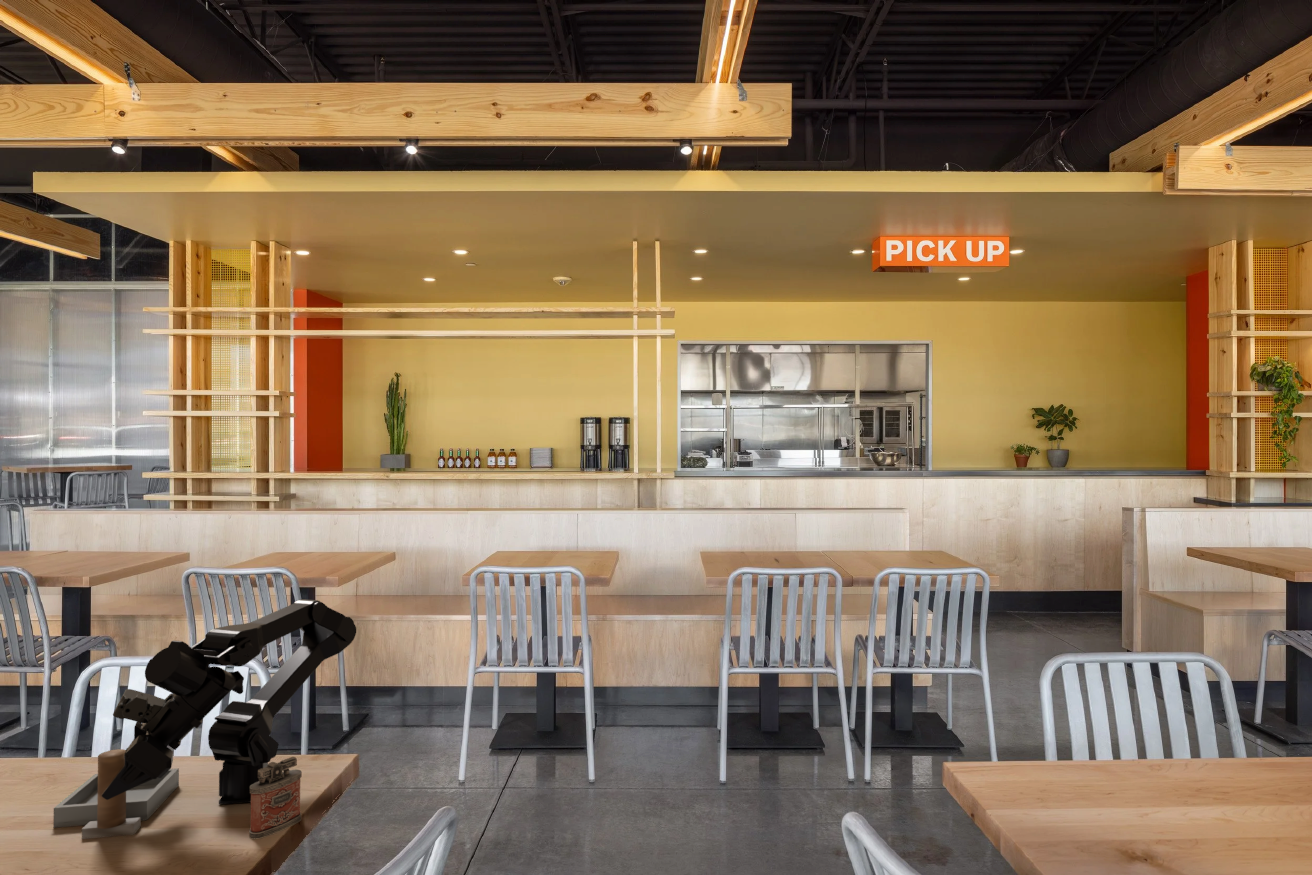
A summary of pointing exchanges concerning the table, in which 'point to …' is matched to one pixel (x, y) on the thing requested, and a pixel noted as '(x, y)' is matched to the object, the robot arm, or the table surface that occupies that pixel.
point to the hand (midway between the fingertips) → (108, 785)
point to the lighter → (275, 799)
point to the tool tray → (138, 800)
